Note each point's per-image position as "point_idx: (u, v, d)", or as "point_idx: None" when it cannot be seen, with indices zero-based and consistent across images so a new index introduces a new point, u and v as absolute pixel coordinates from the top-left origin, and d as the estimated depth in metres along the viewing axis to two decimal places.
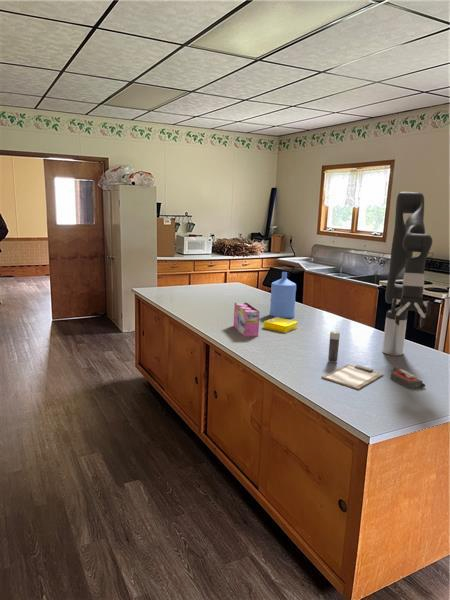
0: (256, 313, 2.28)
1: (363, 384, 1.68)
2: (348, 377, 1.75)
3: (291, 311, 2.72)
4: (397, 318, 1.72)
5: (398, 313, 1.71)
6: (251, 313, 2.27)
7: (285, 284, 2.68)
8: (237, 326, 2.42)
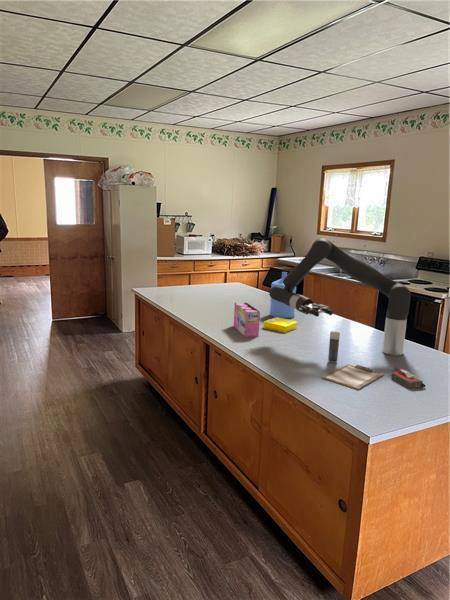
0: (256, 313, 2.28)
1: (363, 384, 1.68)
2: (348, 377, 1.75)
3: (291, 311, 2.72)
4: None
5: None
6: (251, 313, 2.27)
7: None
8: (237, 326, 2.42)
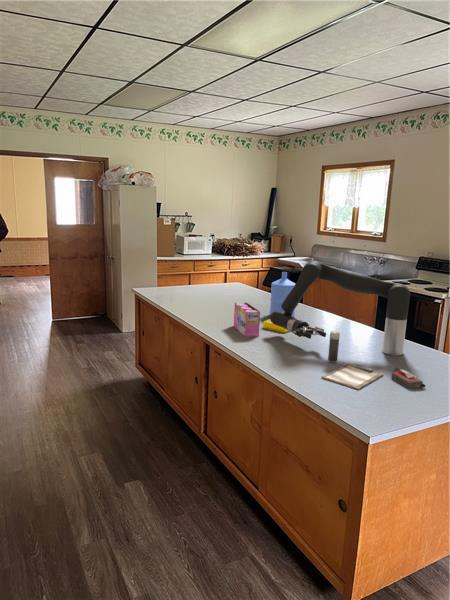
0: (257, 313, 2.28)
1: (363, 384, 1.68)
2: (348, 377, 1.75)
3: None
4: None
5: None
6: (252, 313, 2.27)
7: (285, 284, 2.68)
8: (237, 326, 2.42)
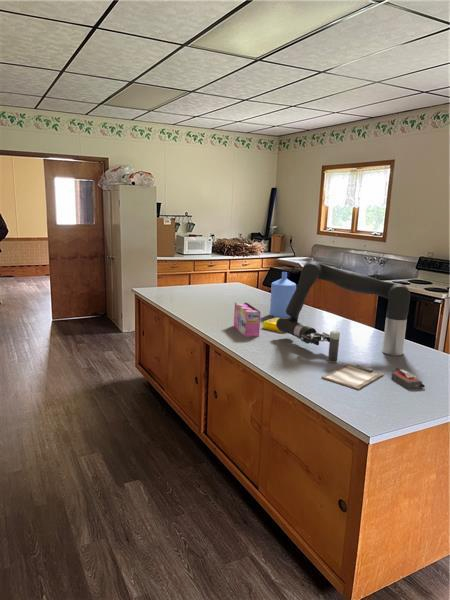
0: (257, 313, 2.28)
1: (363, 384, 1.68)
2: (348, 377, 1.75)
3: None
4: None
5: None
6: (252, 313, 2.27)
7: (285, 284, 2.68)
8: (237, 326, 2.42)
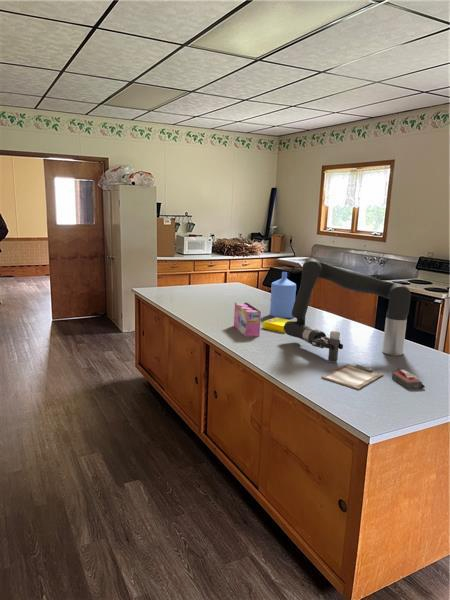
0: (257, 313, 2.28)
1: (363, 384, 1.68)
2: (348, 377, 1.75)
3: (291, 311, 2.72)
4: None
5: None
6: (252, 313, 2.27)
7: (285, 284, 2.68)
8: (238, 326, 2.42)
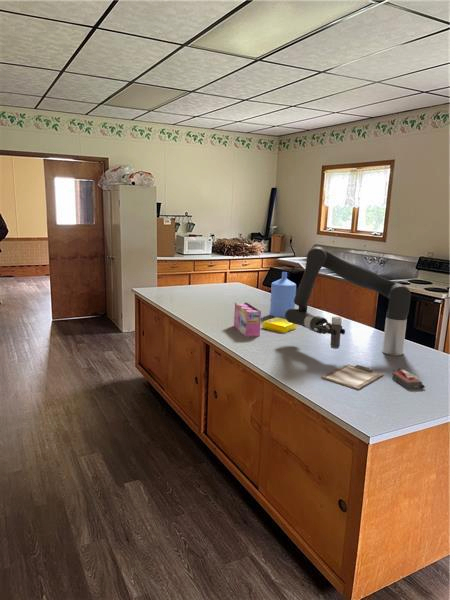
0: (257, 313, 2.28)
1: (363, 384, 1.68)
2: (348, 377, 1.75)
3: None
4: None
5: None
6: (253, 313, 2.27)
7: (285, 284, 2.68)
8: (238, 326, 2.42)
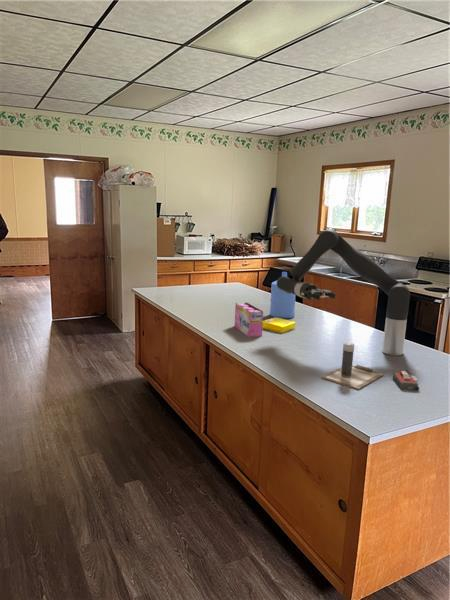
0: (260, 313, 2.28)
1: (363, 384, 1.68)
2: None
3: (291, 311, 2.72)
4: None
5: None
6: (255, 313, 2.27)
7: None
8: (239, 326, 2.41)
